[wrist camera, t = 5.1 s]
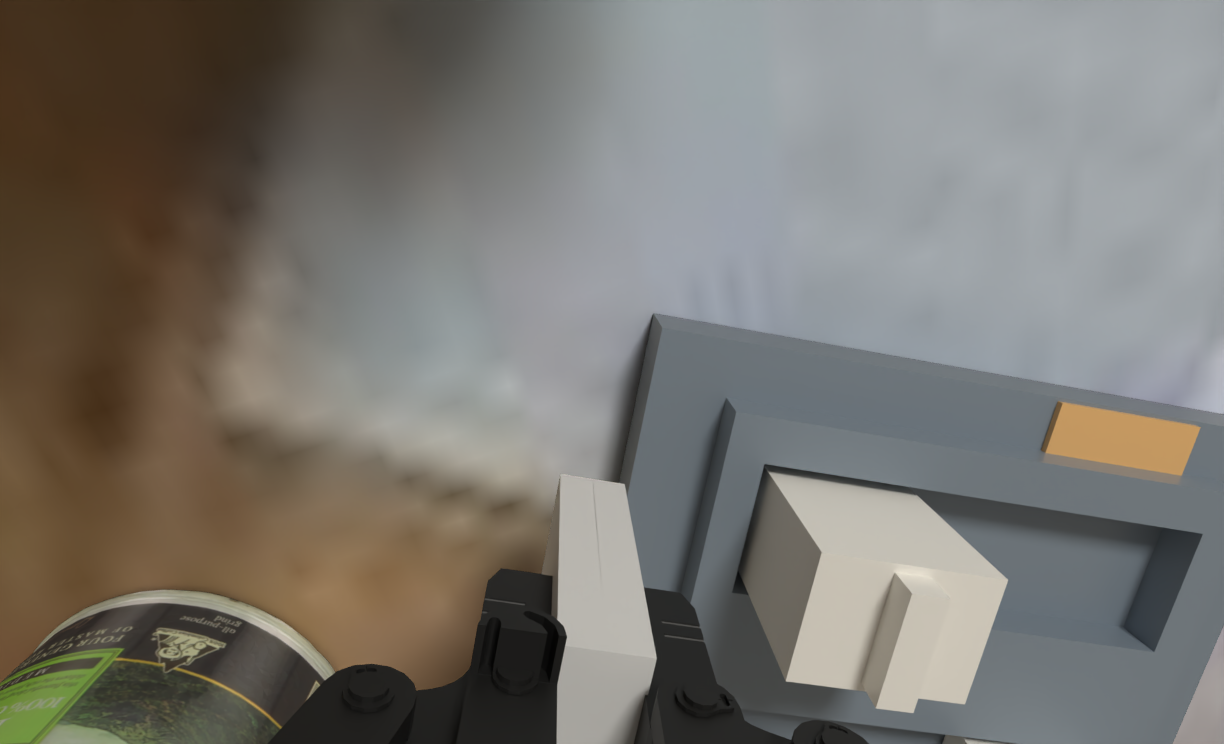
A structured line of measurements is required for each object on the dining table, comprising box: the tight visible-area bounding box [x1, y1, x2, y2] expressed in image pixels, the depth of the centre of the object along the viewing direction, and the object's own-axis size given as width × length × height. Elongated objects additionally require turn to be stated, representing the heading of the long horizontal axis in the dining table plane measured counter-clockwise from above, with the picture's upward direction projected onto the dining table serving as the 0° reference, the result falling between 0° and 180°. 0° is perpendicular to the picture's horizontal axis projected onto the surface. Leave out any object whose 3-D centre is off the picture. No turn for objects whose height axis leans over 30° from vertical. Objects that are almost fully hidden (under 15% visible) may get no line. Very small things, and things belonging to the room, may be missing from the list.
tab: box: [738, 464, 1008, 713], centre depth 18 cm, size 4×3×6 cm
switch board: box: [619, 314, 1224, 744], centre depth 22 cm, size 18×16×3 cm
